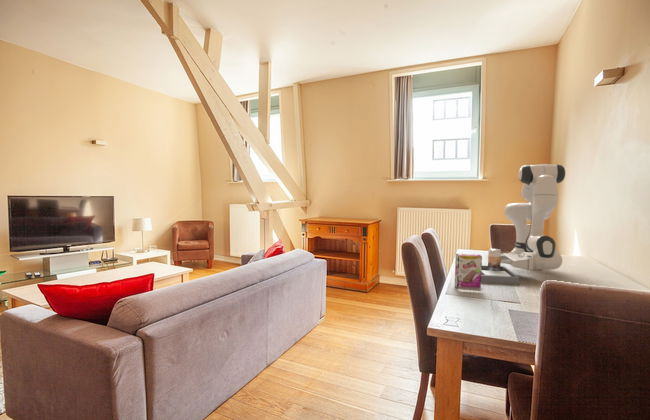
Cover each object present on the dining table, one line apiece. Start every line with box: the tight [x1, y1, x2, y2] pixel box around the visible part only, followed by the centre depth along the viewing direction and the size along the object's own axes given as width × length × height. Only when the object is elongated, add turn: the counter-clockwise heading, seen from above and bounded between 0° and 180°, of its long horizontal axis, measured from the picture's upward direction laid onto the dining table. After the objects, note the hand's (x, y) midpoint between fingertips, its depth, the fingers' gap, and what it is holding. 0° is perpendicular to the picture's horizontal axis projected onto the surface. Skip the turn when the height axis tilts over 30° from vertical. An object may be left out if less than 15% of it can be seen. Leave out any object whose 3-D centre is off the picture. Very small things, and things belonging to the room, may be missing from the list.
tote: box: [481, 265, 520, 286], centre depth 177 cm, size 24×18×4 cm
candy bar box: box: [454, 253, 483, 289], centre depth 161 cm, size 11×5×16 cm, turn 84°
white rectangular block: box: [481, 270, 511, 277], centre depth 172 cm, size 10×12×4 cm
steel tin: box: [487, 248, 502, 271], centre depth 181 cm, size 6×6×14 cm
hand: (498, 259), depth 180 cm, fingers open, 8 cm apart
